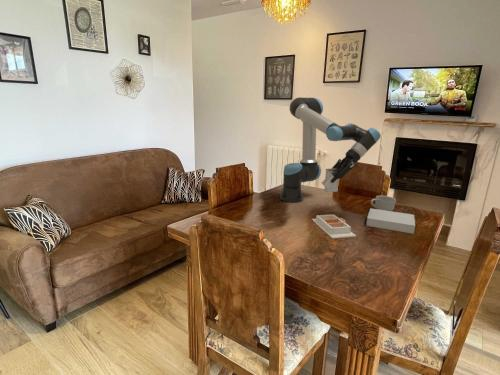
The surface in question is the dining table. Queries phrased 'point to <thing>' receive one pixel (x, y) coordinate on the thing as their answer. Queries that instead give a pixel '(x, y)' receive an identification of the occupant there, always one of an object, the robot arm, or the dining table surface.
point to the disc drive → (390, 220)
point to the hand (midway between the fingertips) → (324, 185)
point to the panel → (328, 175)
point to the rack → (334, 226)
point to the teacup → (384, 203)
